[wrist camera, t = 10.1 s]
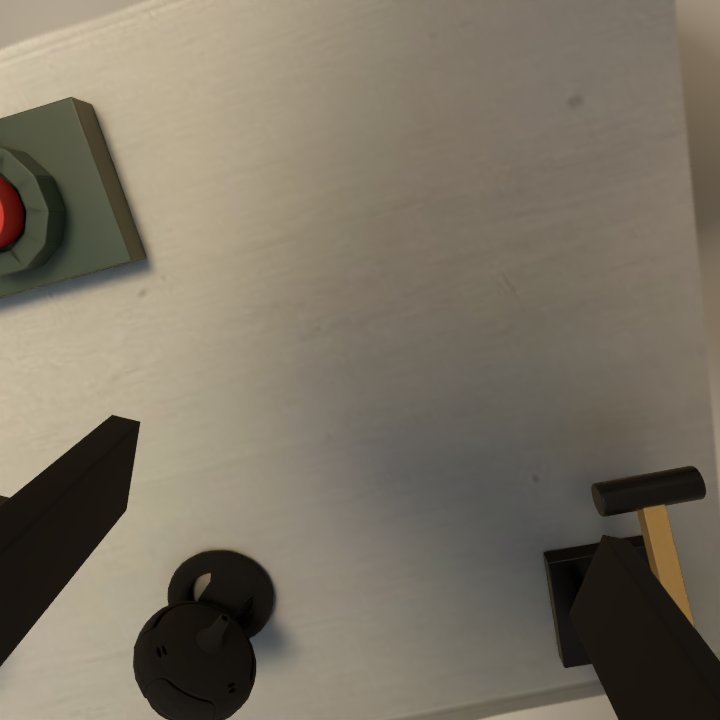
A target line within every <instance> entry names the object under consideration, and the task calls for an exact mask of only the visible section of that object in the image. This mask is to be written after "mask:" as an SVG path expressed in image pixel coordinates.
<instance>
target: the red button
mask: <svg viewBox="0 0 720 720" xmlns="http://www.w3.org/2000/svg"><path fill="white" fill-rule="evenodd" d="M23 223H24V210H23V206H22V203H21V200H20V198H19V196H18V194H17V193H16V191H15V190H14V189H13V187H12V186H11V185H10V184H9V183H7V182H6V181H5V180H4V179H2V178H0V248H2V247H5V246H7V245H9V244H11V243H12V242H13V241H14V240H15V239H16V238H17V237H18V236H19V234H20V232H21V230H22V227H23Z"/></svg>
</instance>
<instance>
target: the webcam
mask: <svg viewBox="0 0 720 720" xmlns="http://www.w3.org/2000/svg"><path fill="white" fill-rule="evenodd" d="M207 573H211V581H210V583H209V584H208V586H207V587H206V589H205V590H204V592H203V593H202V595H201V596H200V598H199V599H198V601H197V602H195V601H190V599H189V588H190V585H191V584H192V582H193V581H194V580H195V579H196V578H198V577H200V576H202V575H204V574H207ZM250 597H253V607H252V609H251V611H250V613H249V614H248V615H247V616H246V617H245V618H243V619H241V620H239V621H237V622H236V621H235V620H234V618H235V617H236V615H237V614H238V613H239V611H240V609H241V608H242V606H243V604H244V603H245V601H246V600H247V599H249V598H250ZM168 604H169V605H168V606H166V607H164V608H162V609H161V610H159V611H158V612H157V613H155V614H154V615H153V616H152V617H151V618H150V619H149V620H148V621H147V622H146V624H145V625H144V627H143V628H142V630H141V632H140V633H139V636H138V638H137V641H136V644H135V646H134V659H133V667H134V673H135V679H136V681H137V683H138V685H139V688H140V690H141V692H142V694H143V696H144V697H145V698H147V700H148V702H149V703H150V705H151V707H152V708H153V709H154V710H155V711H156V712H157V713H158V714H159V715H160V716H162V717H164V718H165V719H168V720H225V719H227V718H229V717H231V716H232V715H233V714H234V713H235V712H236V711H237V710H238V709H239V708H241V707H242V705H243V704H244V703H245V702H246V701H247V699H248V697H249V696H250V693H251V690H252V688H253V685H254V682H255V676H256V659H255V654H254V650H253V646H252V644H251V642H250V640H249V639H250V638H251V637H253V636H255V635H256V634H257V633H258V632H260V631H261V630H262V628H263V627H264V626H265V624H266V623H267V621H268V620H269V617H270V615H271V612H272V607H273V591H272V588H271V585H270V583H269V580H268V578H267V577H266V575H265V574H264V572H263V571H262V570H261V569H260V568H259V567H258V566H257V565H256V564H255V563H253V562H252V561H250V560H249V559H247V558H245V557H243V556H241V555H238V554H235V553H232V552H225V551H209V552H203V553H200V554H197V555H195V556H193V557H191V558H189V559H188V560H186V561H185V562H184V563H182V564H181V566H180V567H179V568H178V569H177V570H176V571H175V573H174V575H173V577H172V579H171V581H170V584H169V587H168Z"/></svg>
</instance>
